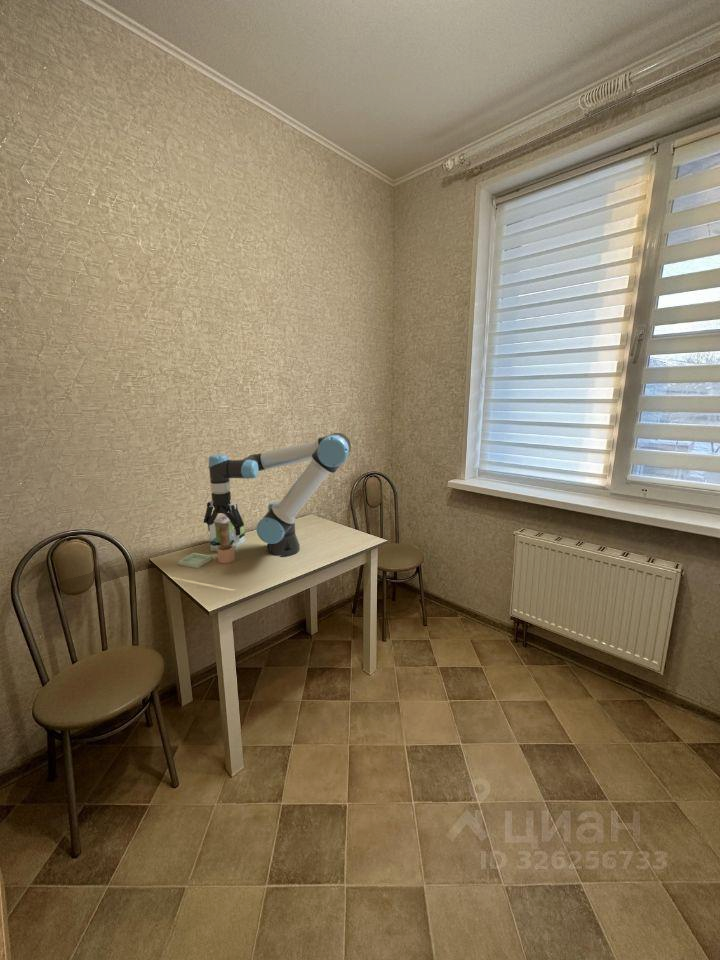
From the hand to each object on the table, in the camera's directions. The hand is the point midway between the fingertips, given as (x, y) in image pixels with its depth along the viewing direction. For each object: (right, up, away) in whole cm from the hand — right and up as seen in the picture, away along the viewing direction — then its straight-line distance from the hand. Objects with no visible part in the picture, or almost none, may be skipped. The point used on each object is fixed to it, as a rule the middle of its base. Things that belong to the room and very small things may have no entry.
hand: (224, 540), depth 164 cm
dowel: (0, -9, +2) cm, 9 cm away
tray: (-13, -10, 0) cm, 16 cm away
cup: (0, -10, +2) cm, 10 cm away
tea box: (-5, -6, +18) cm, 20 cm away
